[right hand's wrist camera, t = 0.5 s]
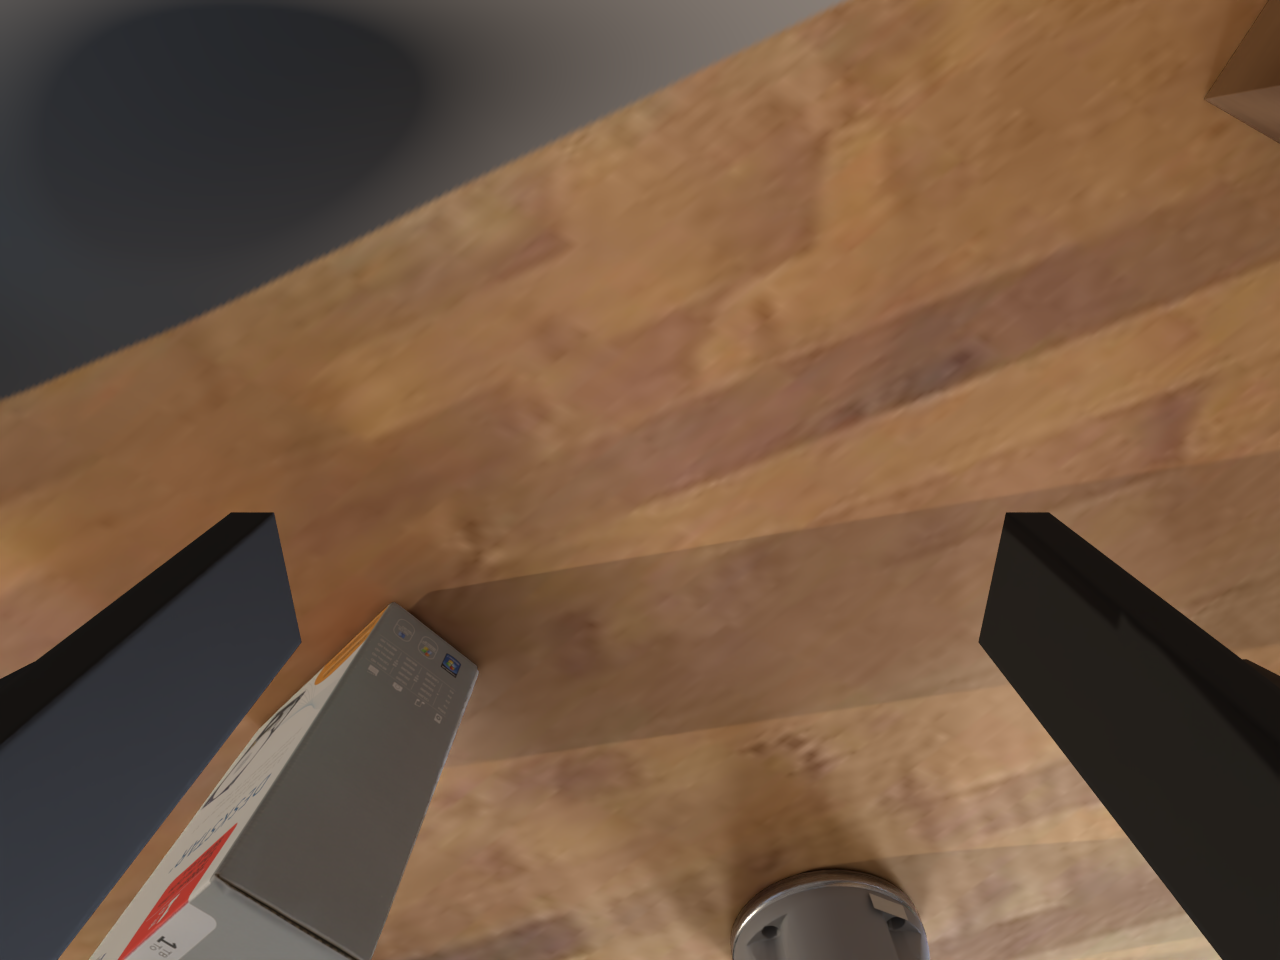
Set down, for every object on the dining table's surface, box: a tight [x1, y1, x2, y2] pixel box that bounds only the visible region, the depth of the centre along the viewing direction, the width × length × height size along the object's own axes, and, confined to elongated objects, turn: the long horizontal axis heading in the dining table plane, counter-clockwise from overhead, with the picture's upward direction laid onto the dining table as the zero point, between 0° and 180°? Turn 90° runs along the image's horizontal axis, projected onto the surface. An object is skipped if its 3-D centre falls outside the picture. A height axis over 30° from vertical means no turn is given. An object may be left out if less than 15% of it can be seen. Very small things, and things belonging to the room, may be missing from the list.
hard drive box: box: [89, 602, 479, 960], centre depth 38 cm, size 16×8×20 cm, turn 134°
